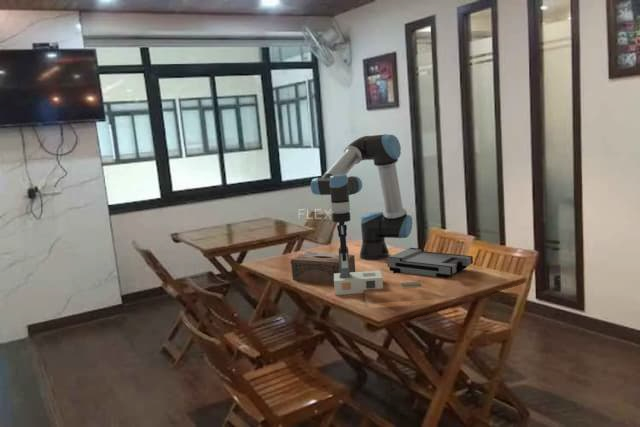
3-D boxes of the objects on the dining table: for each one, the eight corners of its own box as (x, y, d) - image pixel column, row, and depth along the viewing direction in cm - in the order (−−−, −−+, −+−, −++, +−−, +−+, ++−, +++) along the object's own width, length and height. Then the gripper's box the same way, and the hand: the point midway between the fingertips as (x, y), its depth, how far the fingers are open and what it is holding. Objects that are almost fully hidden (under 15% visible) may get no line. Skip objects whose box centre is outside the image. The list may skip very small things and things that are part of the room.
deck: (400, 286, 235) (400, 282, 235) (419, 284, 235) (419, 281, 235) (403, 291, 228) (402, 288, 227) (422, 290, 227) (422, 286, 227)
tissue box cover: (355, 275, 259) (354, 254, 257) (340, 284, 247) (338, 262, 245) (309, 272, 272) (307, 252, 271) (292, 280, 260) (290, 259, 259)
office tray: (450, 283, 236) (450, 264, 234) (388, 274, 257) (387, 257, 255) (473, 271, 251) (472, 253, 250) (412, 264, 272) (411, 247, 271)
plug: (349, 274, 237) (347, 244, 235) (350, 276, 233) (348, 246, 231) (340, 275, 237) (338, 245, 235) (340, 277, 233) (338, 247, 231)
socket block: (334, 286, 242) (333, 273, 242) (380, 283, 242) (379, 270, 241) (334, 295, 230) (333, 281, 229) (383, 291, 230) (382, 277, 229)
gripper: (331, 209, 240) (335, 262, 243) (331, 215, 223) (336, 272, 226) (349, 208, 240) (353, 261, 243) (350, 214, 223) (354, 271, 226)
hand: (344, 266), depth 235 cm, fingers closed on plug, 4 cm apart
